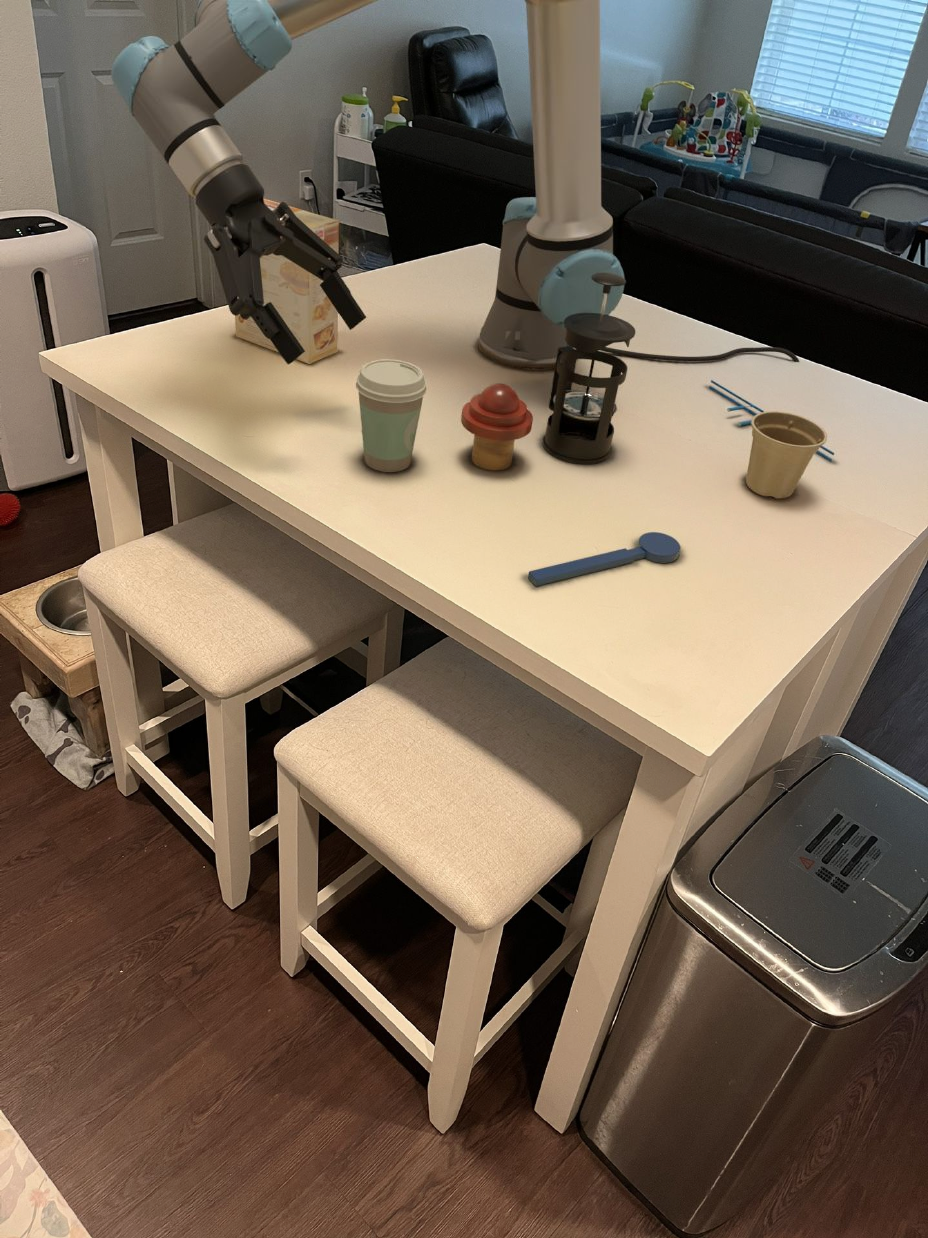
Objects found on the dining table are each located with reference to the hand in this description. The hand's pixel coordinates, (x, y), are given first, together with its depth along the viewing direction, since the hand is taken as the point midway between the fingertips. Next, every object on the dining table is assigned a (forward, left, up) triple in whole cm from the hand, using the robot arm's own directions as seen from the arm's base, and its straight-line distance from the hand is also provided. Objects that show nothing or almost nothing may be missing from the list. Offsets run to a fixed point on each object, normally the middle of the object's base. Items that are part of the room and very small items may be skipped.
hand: (329, 340), depth 111 cm
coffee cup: (-5, +7, -14) cm, 16 cm away
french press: (-31, +11, -14) cm, 36 cm away
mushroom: (-18, +11, -14) cm, 25 cm away
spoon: (-19, +36, -14) cm, 43 cm away
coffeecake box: (-5, -31, -14) cm, 34 cm away
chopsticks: (-61, +14, -14) cm, 64 cm away
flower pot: (-50, +29, -14) cm, 60 cm away
